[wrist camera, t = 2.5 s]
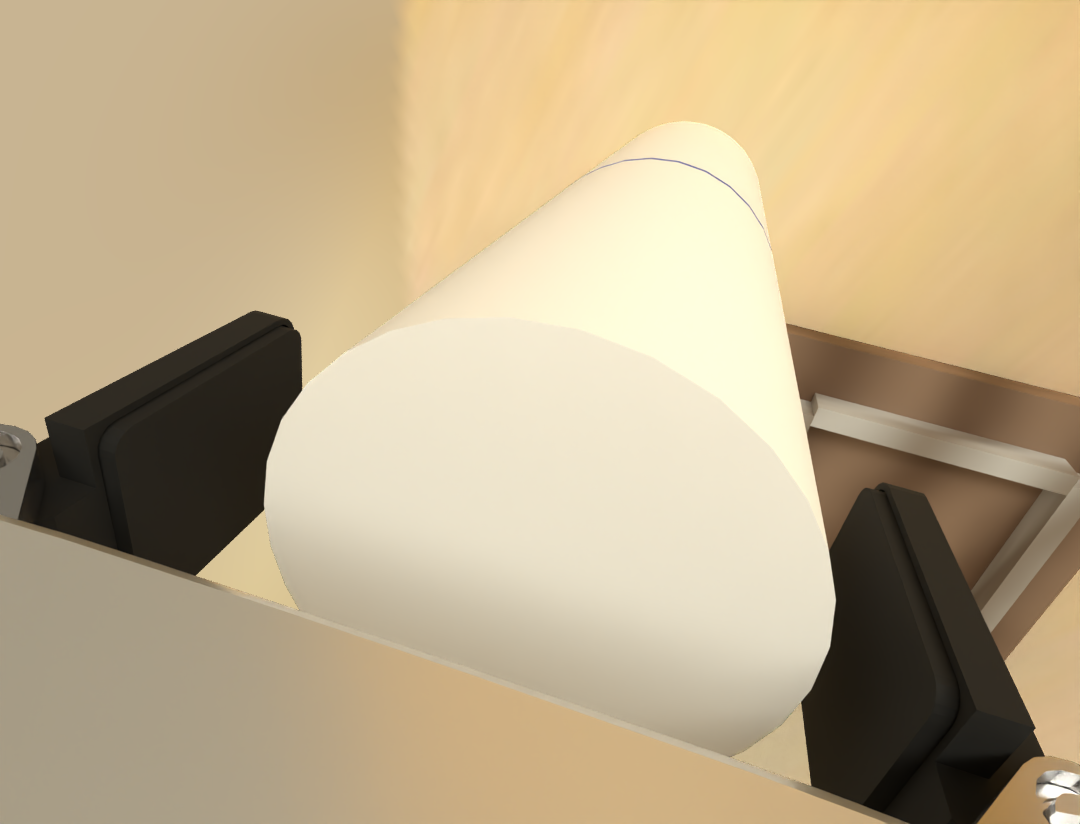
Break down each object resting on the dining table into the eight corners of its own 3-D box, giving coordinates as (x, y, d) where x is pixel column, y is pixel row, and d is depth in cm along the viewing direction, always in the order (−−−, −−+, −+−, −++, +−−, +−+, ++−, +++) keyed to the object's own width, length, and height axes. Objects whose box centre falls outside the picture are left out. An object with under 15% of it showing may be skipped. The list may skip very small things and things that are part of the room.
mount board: (1172, 420, 28) (1211, 452, 26) (965, 683, 37) (980, 724, 35) (757, 316, 31) (759, 337, 28) (659, 586, 40) (654, 618, 37)
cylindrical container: (777, 256, 29) (891, 781, 8) (628, 302, 32) (412, 781, 11) (736, 93, 27) (737, 212, 5) (577, 158, 29) (163, 408, 8)
